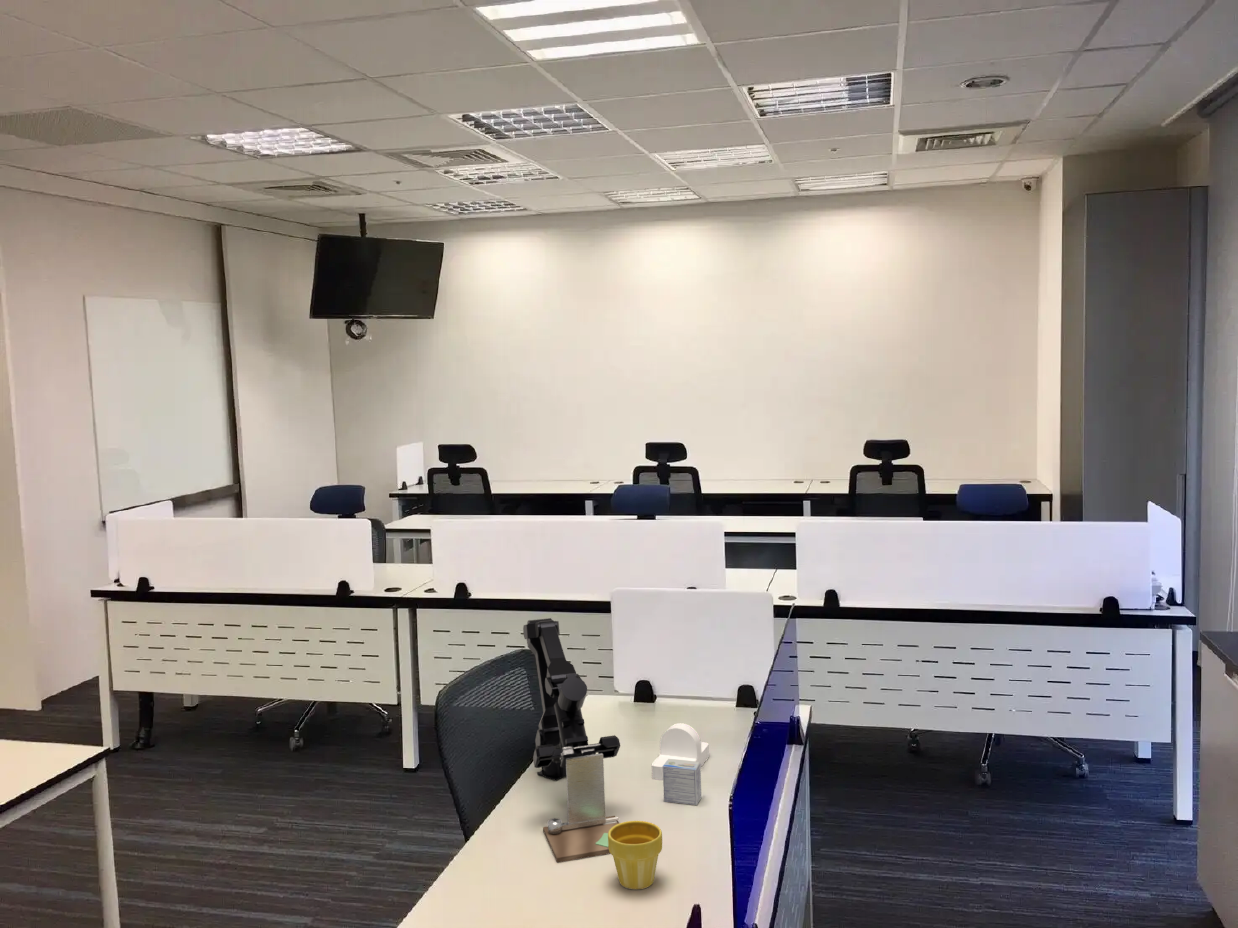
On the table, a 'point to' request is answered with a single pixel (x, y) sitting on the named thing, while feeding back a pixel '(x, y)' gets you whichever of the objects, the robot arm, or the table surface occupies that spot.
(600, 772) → the lever
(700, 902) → the table surface
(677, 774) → the medicine box
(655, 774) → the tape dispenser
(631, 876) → the plant pot
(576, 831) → the board
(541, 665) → the robot arm
